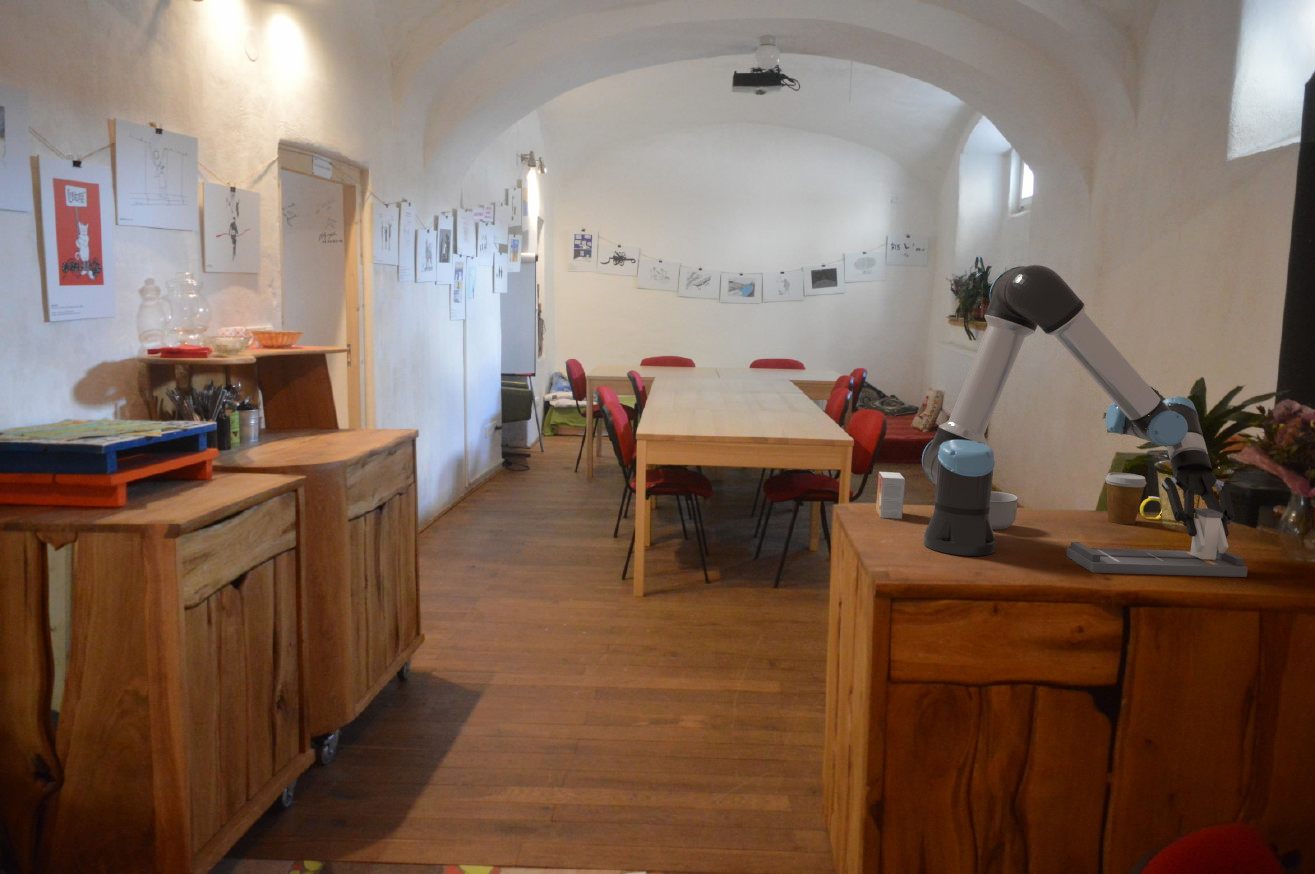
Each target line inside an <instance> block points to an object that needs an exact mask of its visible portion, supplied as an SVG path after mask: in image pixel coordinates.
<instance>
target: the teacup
mask: <svg viewBox="0 0 1315 874" xmlns="http://www.w3.org/2000/svg"><path fill="white" fill-rule="evenodd" d="M1018 501H1019V497H1018V496H1017V495H1015V494H1012V493H1009V492H1001V491H993V490H991V500H990V510H989V518H990V522H991V526H992V530H993V531H994V530H1005V529H1007V528H1009V526H1011V525H1013V524H1014V523H1015V521H1016V519H1017V518H1016V517H1017V511H1018Z"/></svg>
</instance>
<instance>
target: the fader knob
mask: <svg viewBox="0 0 1315 874" xmlns="http://www.w3.org/2000/svg"><path fill="white" fill-rule="evenodd" d="M1221 518H1223V513H1221V512H1218V511H1215V510H1213V509H1208V508H1205V507H1204V508H1202V507H1199V508H1198V507H1197V508H1196V507H1194V519H1199V521H1200V525H1201V529H1202V533H1203V537H1204V541H1205V545H1206V546H1205V547H1204V548H1203V550H1202V551H1201V552H1197V550H1196V546H1195V542H1194V538H1193V536H1191V537H1192V538H1191V546H1190V551H1191V553H1190V554H1192V555H1194V556H1196V557H1198V558H1200V559H1212V560H1216V553H1217V547H1218V546H1217V545H1218V537H1219V528H1220V521H1221Z"/></svg>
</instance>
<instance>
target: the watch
mask: <svg viewBox="0 0 1315 874" xmlns="http://www.w3.org/2000/svg"><path fill="white" fill-rule="evenodd" d="M1160 500H1161V497H1159V496H1150V495H1149V496H1148V497H1147V498H1146V499H1144V500H1143V501H1141V503H1140V505H1139V513H1140V515H1141V516H1142V518H1144V519H1145V520H1152V521H1156V520H1157V521H1159V520H1160V519H1162V518H1161V516H1160V514H1161V513H1162V509H1161V508H1160V509H1161V511H1160V512H1159V514H1158V515H1156V516H1155V517H1150V516H1149V517H1147V515H1146V514H1145V512H1144V509H1145V506H1146V505H1147V504H1148V503H1149V502H1150V501H1155V502H1159V503H1160ZM1160 505H1161V503H1160Z"/></svg>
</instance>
